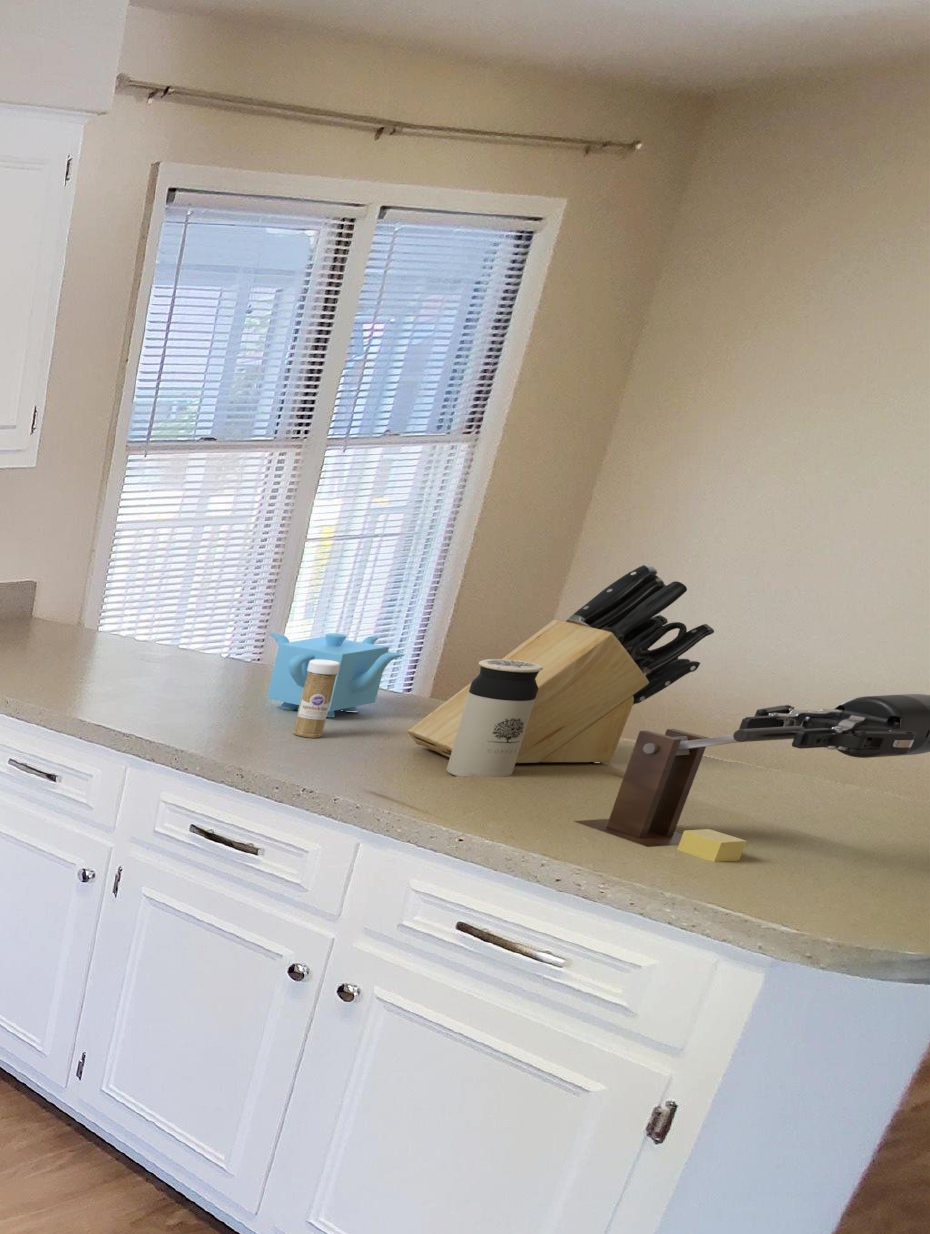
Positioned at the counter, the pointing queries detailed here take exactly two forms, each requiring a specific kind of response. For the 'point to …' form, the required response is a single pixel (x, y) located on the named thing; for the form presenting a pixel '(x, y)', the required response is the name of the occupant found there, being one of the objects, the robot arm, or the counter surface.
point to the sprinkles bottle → (316, 698)
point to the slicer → (653, 790)
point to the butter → (711, 845)
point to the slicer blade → (739, 737)
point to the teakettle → (352, 680)
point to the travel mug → (494, 718)
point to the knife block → (588, 673)
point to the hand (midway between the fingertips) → (770, 732)
